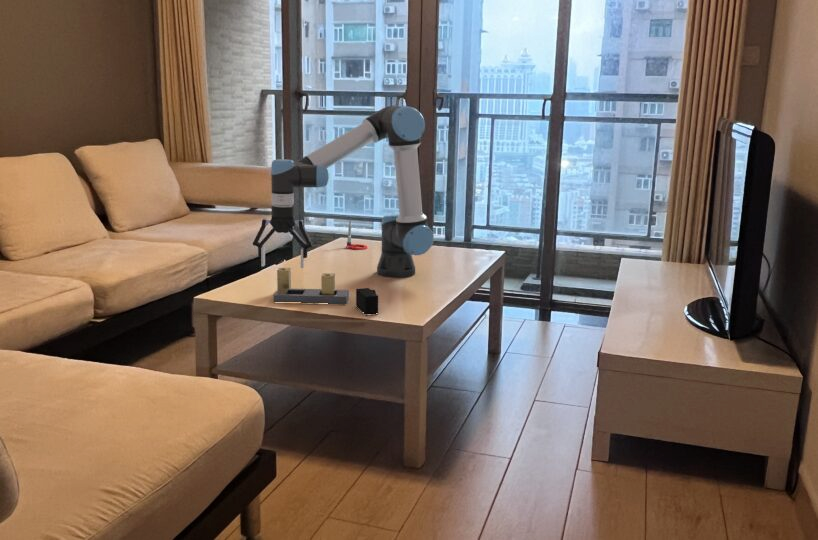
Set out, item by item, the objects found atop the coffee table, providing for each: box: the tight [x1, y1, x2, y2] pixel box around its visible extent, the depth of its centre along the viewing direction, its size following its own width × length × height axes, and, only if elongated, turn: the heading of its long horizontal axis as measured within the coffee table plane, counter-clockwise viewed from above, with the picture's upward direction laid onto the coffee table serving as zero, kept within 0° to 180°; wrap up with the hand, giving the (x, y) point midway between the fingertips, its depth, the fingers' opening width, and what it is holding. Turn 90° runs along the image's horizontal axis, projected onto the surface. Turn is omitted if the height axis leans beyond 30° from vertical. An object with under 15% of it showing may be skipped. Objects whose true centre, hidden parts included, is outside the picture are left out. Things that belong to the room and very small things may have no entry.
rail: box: [273, 288, 350, 304], centre depth 257 cm, size 24×9×4 cm, turn 89°
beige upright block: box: [320, 272, 336, 295], centre depth 256 cm, size 4×4×9 cm
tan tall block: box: [276, 267, 292, 290], centre depth 266 cm, size 4×4×9 cm
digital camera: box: [355, 287, 379, 315], centre depth 247 cm, size 10×5×7 cm, turn 20°
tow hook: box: [345, 219, 368, 251], centre depth 345 cm, size 8×13×9 cm
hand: (282, 266), depth 265 cm, fingers open, 13 cm apart
